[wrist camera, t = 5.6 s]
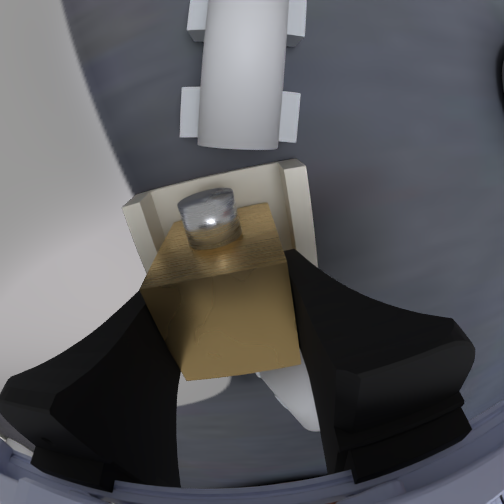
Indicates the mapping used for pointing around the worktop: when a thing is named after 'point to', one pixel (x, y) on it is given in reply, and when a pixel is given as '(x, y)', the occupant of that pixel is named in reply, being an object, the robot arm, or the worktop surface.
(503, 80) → the soda can
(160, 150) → the worktop surface
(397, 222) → the worktop surface
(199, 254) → the block
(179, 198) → the cradle
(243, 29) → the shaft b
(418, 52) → the worktop surface
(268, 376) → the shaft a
